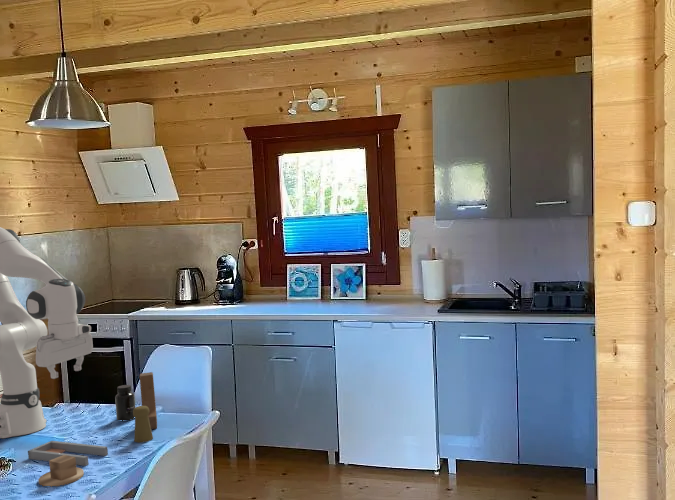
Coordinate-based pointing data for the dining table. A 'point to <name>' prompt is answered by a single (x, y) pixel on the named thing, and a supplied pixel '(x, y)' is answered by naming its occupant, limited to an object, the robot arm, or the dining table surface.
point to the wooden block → (148, 397)
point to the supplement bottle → (124, 403)
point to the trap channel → (57, 449)
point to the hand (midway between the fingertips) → (66, 374)
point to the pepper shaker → (142, 424)
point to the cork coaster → (48, 481)
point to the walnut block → (63, 467)
